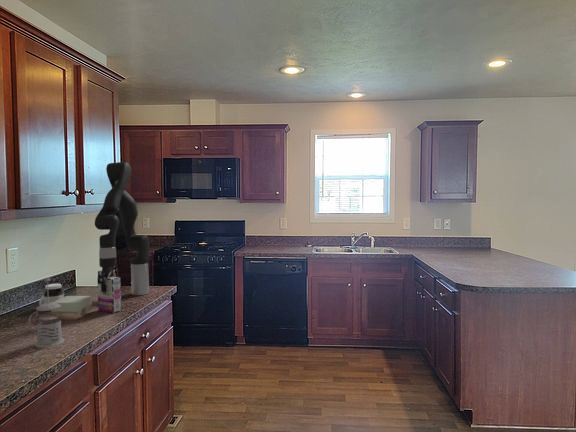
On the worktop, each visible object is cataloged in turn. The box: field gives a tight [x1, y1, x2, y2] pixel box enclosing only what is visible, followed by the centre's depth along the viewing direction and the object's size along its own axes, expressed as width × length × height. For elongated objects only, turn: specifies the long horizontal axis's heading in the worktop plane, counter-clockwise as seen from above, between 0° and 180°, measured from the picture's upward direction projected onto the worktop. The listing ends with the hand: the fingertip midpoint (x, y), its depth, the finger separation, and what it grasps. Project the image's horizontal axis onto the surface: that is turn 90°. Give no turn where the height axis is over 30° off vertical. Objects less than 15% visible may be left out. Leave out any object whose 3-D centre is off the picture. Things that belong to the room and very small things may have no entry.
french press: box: [27, 277, 66, 349], centre depth 151 cm, size 10×12×25 cm
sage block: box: [50, 295, 93, 312], centre depth 186 cm, size 12×12×4 cm
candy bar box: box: [96, 276, 123, 314], centre depth 193 cm, size 11×5×16 cm, turn 62°
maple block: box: [50, 304, 92, 321], centre depth 186 cm, size 12×12×4 cm
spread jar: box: [38, 283, 65, 306], centre depth 199 cm, size 12×11×12 cm
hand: (108, 290), depth 193 cm, fingers open, 8 cm apart
